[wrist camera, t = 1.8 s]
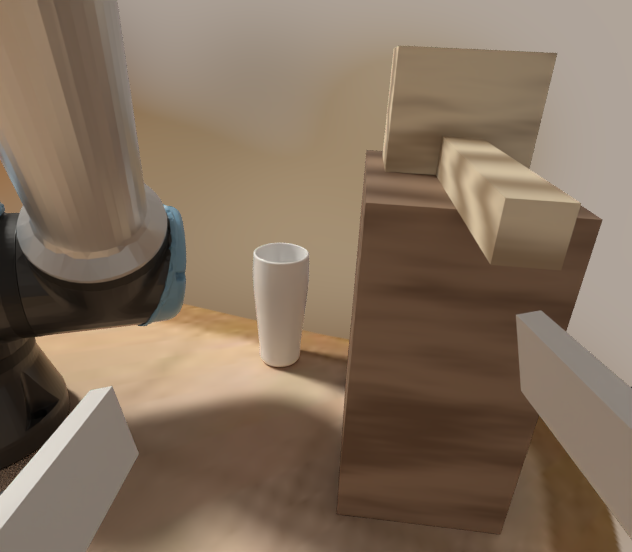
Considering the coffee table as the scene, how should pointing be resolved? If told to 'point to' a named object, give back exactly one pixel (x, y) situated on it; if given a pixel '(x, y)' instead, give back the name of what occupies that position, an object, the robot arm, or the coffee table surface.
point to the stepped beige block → (481, 146)
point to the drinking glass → (280, 300)
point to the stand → (439, 359)
